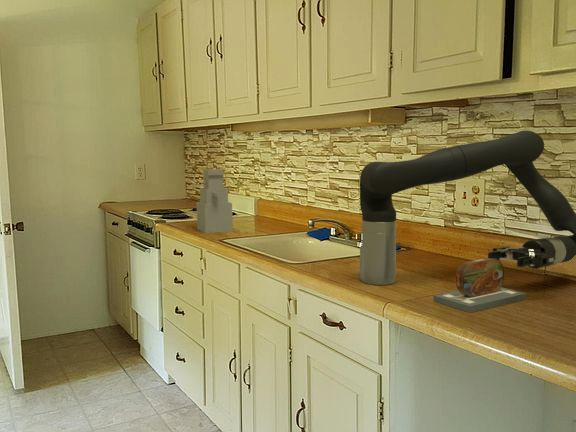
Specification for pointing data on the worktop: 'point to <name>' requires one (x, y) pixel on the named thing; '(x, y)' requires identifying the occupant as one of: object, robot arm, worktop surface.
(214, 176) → the stacked tiered boxes
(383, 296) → the worktop surface
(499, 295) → the letter board
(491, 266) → the tin
